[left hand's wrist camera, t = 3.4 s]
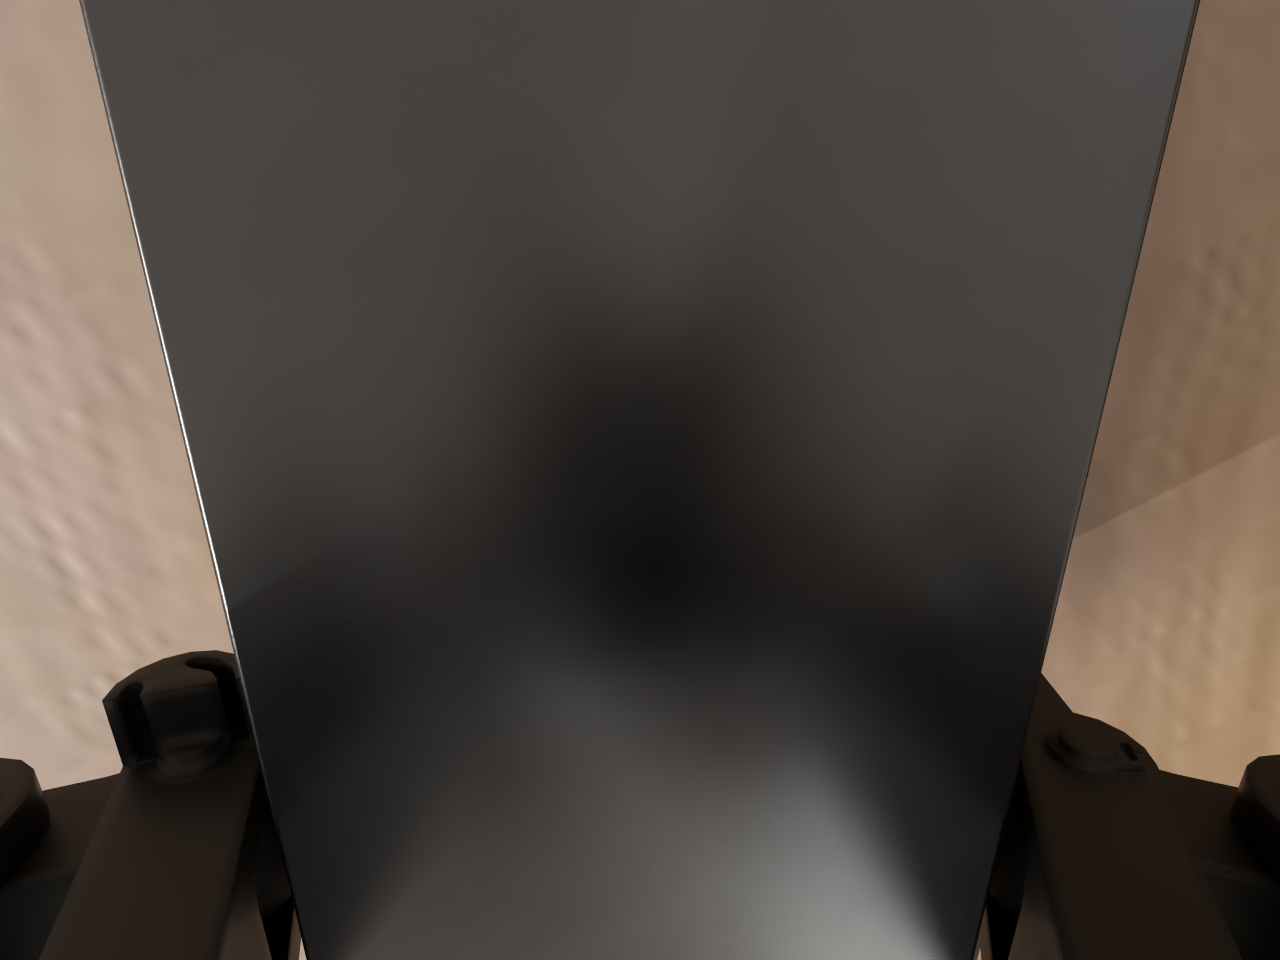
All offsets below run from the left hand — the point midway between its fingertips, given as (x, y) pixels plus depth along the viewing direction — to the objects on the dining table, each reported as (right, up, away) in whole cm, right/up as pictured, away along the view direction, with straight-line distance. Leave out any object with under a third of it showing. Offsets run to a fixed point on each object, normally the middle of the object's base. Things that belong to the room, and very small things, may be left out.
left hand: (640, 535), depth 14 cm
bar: (0, +9, -3) cm, 9 cm away
